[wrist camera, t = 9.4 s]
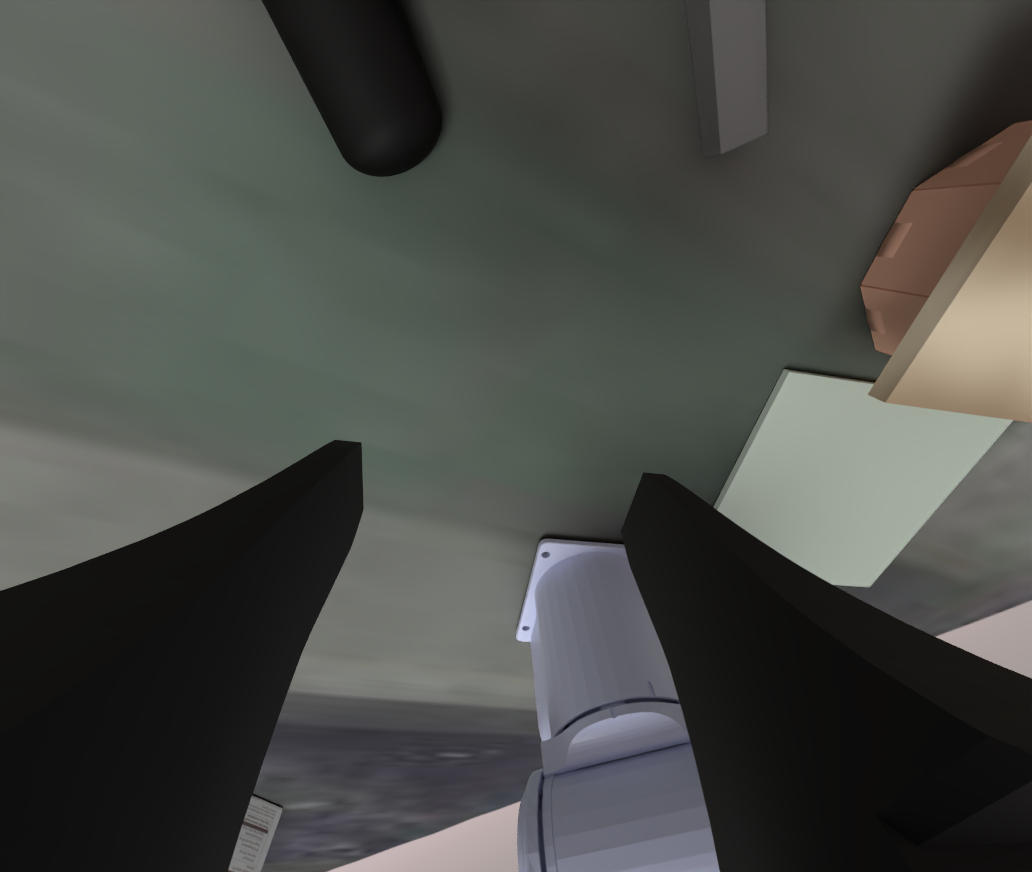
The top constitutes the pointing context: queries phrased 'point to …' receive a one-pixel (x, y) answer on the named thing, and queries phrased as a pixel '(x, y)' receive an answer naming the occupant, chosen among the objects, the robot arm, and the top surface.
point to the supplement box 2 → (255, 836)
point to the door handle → (412, 101)
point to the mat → (847, 474)
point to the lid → (976, 318)
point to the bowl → (933, 234)
